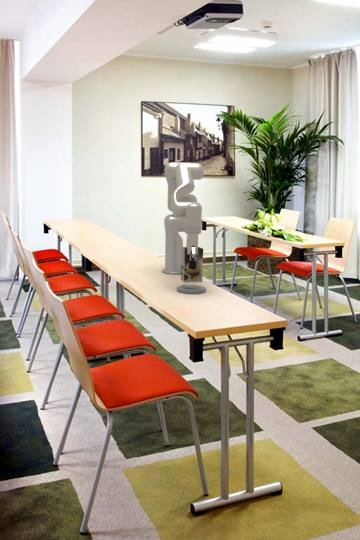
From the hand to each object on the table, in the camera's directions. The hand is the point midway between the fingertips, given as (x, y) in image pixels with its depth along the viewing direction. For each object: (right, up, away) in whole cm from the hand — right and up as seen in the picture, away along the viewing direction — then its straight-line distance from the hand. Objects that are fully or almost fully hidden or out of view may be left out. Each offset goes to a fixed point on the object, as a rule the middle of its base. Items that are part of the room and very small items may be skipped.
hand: (191, 267), depth 292 cm
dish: (0, -11, +2) cm, 12 cm away
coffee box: (0, -7, +1) cm, 7 cm away
